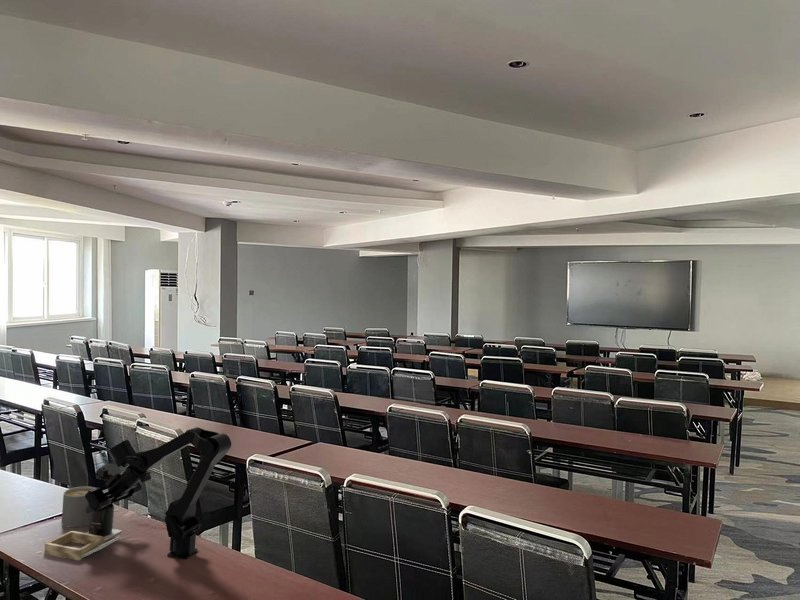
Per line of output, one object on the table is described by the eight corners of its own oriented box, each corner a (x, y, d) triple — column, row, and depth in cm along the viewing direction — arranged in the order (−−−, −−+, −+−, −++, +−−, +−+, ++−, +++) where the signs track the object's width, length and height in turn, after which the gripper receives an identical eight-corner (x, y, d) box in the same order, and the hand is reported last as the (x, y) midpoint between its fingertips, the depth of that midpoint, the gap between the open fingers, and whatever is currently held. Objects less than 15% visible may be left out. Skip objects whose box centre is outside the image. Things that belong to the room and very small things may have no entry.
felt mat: (121, 531, 187) (122, 530, 187) (101, 542, 178) (101, 541, 178) (98, 527, 189) (98, 526, 189) (77, 538, 180) (77, 536, 180)
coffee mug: (54, 522, 190) (56, 492, 190) (82, 513, 199) (84, 484, 199) (82, 531, 185) (84, 500, 185) (109, 521, 194) (111, 492, 194)
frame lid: (121, 550, 174) (122, 535, 174) (100, 562, 165) (101, 546, 165) (100, 546, 175) (101, 531, 175) (79, 558, 167) (80, 542, 167)
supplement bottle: (89, 539, 179) (91, 501, 179) (87, 531, 185) (90, 493, 185) (113, 535, 183) (116, 498, 183) (111, 527, 188) (114, 491, 188)
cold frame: (104, 546, 176) (104, 536, 176) (79, 560, 166) (79, 550, 166) (70, 540, 178) (71, 530, 178) (44, 553, 169) (44, 543, 169)
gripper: (136, 450, 191) (107, 478, 195) (91, 465, 174) (60, 495, 177) (154, 477, 189) (125, 505, 192) (111, 495, 171) (79, 525, 175)
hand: (98, 507), depth 184 cm, fingers open, 9 cm apart
